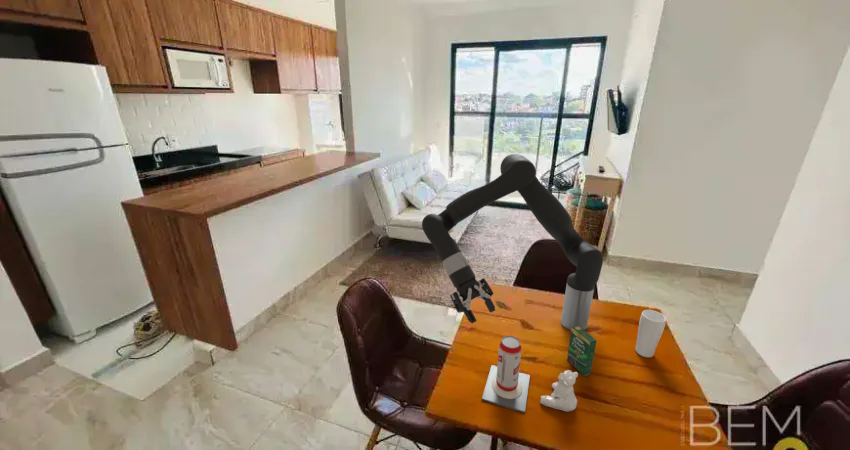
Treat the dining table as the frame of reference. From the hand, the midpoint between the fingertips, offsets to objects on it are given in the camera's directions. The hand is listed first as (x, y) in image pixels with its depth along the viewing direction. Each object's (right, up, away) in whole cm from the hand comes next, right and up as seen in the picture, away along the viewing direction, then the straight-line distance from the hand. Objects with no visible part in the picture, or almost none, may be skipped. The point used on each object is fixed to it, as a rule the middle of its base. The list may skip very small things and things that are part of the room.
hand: (483, 316), depth 102 cm
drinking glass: (+57, -16, +11) cm, 60 cm away
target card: (+7, -21, -2) cm, 22 cm away
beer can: (+7, -20, -2) cm, 21 cm away
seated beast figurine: (+21, -23, -7) cm, 32 cm away
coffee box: (+31, -18, +6) cm, 37 cm away
